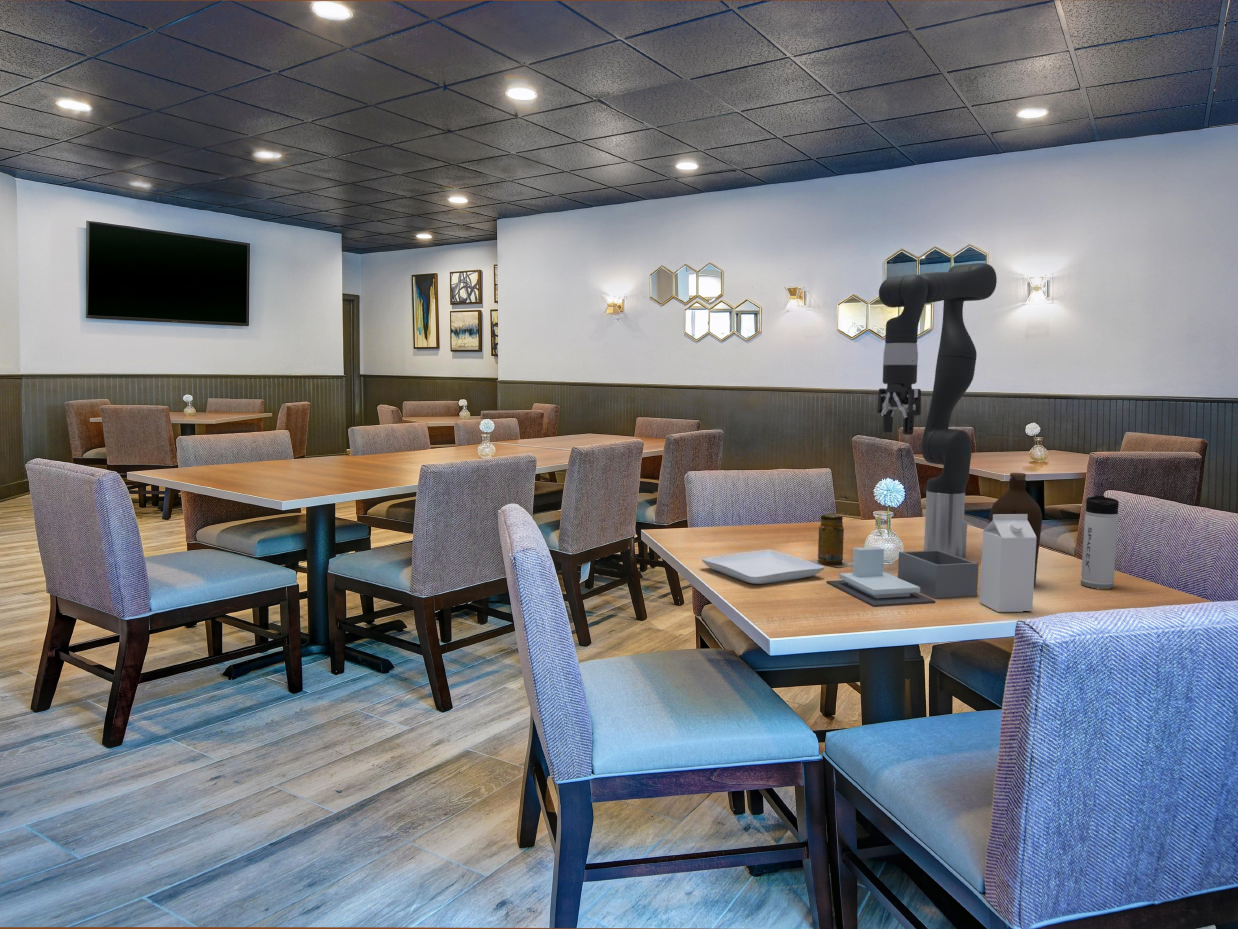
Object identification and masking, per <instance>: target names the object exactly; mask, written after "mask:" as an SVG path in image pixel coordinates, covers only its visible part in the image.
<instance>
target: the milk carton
mask: <svg viewBox="0 0 1238 929" xmlns="http://www.w3.org/2000/svg"><path fill="white" fill-rule="evenodd" d="M1027 517H1028V514H993V520H992V521H991V522H990V521H989V523H988V524H987V526H986V527H985V528H984V529H983V531H982V543H981V544H982V548H981V560H980V561H981V562H980V564H981V567H980V581H979V582H980V585H979V598H978V599H979V604H982V605H984V606H986V607H987V608H989V609H991V610H992V611H995V612H997V613H1023V611H1031V612H1033V605H1034V604H1033V601H1034V589H1035V588H1034V587H1035V586H1034V572H1035V555H1036V535H1035V533H1034V531H1033V529H1032V527H1031V526H1030V524H1029V522H1028V520H1027Z"/></svg>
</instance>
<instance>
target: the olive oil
mask: <svg viewBox="0 0 1238 929" xmlns="http://www.w3.org/2000/svg"><path fill="white" fill-rule="evenodd" d="M1009 477H1010V478H1009V481H1008V490H1007V491H1006V492H1004V493H1003V494H1002V495H1001V496H1000V497H999V498H998V499H997V500H996V501H994V503H993V504H992V506H991V508H990V511H989V519H988V520H989V523H990V522H991V521H992V520H993V514H1028V517H1027V520H1028V522H1029V524H1030V526H1031V527H1032V529H1033V531H1034V533H1035V535H1036V555H1035V572H1034V587H1035V586H1036V583H1037V582H1036V580H1037V568H1038V560H1039V559H1038V558H1039V551H1040V550H1039V549H1040V543H1041V542H1040V541H1041V540H1040V539H1041V534H1042V532H1041V531H1042V525H1043V514H1042V510H1041V507H1040V506H1039V504H1038V502H1036V501H1035V500H1034V498H1032V497H1031V495H1030V494H1029V493H1028V492H1027V491H1026V487H1027V480H1026V477H1027V473H1025V472H1010V473H1009Z"/></svg>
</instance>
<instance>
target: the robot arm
mask: <svg viewBox="0 0 1238 929" xmlns="http://www.w3.org/2000/svg"><path fill="white" fill-rule="evenodd" d="M997 277H998V276H997V273H996V271H995V268H994V267H993V266H992V265H991V264H989V263H985V262H977V263H964V264H957V265H953V266H952V267H950V268H949V270H948V271H941V272H940V271H937V272H935V271H934V272H933V271H932V272H926V273H925V272H924V273H919V274H907V275H898V276H890V277H888V278H886V279H885V280H884V281H882V283H881V284H880V286H879V289H878V297H879V300H880V302H881V303H882V305H884V306H885V307H888V308H891V309H892V308H894V309H895V308H903V309H902V312H901V313H900V314H899V315H898V316H895V317H892V318H890V319H888V320H887V321H886V324H885V340H884V342H885V343H884V349H883V362H882V383H883V384H884V385H886V388H879V389H878V396H877V408H876V409H877V410H876V412H877V413H878V414H880V415H881V417H882V432H883V433H892V432H893V426H894V424H893V423H894V417H893V415H894V413H895V411H896V410H899V411H900V412H901V413H902V416H903V419H902V422H903V423H902V434H903V435H907V436H908V435H913V433H914V428H915V427H914V425H915V424H914V422H915V418H916V417H918V416H920V415H921V413H922V412H921V410H922V390H921V388H913V387H912V385H915V384H917V383H918V382H917V380H918V364H919V363H918V359H919V358H918V357H919V352H918V333H919V332H918V331H919V329H918V328H919V323H920V320H921V317H922V313H923V311H924V308H925V304H931V303H937V302H941V301H943V308H942V310H943V312H942V323H941V331H940V332H941V334H940V339H939V340H940V341H939V345H938V346H939V347H938V352H937V359H936V363H935V372H934V373H935V374H934V382H933V390H932V394H931V401H930V406H929V410H928V413H927V418H926V423H925V425H924V429H923V434H922V438H921V454H922V457H923V460H924V461H925V462H927V463H929V464H932V465H933V464H935V465H941V466H943V467H942V468H943V469H942V472H941V474H940V475H938V476H936V477H932V478H929V479H928V480H927V483H926V492H925V494H926V497H925V499H926V500H925V519H924V520H925V521H924V536H923V537H924V539H923V540H924V541H923V543H924V544H923V551H930V550H940V551H943V552H946V553H949V554H952V555H955V556H958V557H961V558H964V559H966V554H967V536H968V535H967V532H968V522H966V521H965V506H966V505H965V504H966V488H967V487H966V486H967V485H968V482H969V479H970V471H971V470H970V468H971V459H972V450H973V449H972V448H973V446H972V440H971V437H970V434H969V433H968V432H967V431H965V430H962V429H955V428H953V429H952V428H949V426H950V421H951V418H952V414H953V412H954V409H955V407H956V405H957V404H958V403H959V401H960V400H961V398H962V397H963V396H964V395H965V393H966V392H967V390H968V388H969V387H970V386H971V384H972V382H973V381H974V376H975V369H976V363H977V357H978V356H977V350H976V346H975V344H974V342H973V340H972V337H971V335H970V334H969V332H968V329H967V328H966V326H965V322H964V312H963V311H964V310H963V309H964V303H965V302H973V301H974V302H975V301H983V300H986V299H988V298H990V297H991V296H992V295H993V294H994V292H995V291H996V288H997V282H998V281H997V279H998V278H997Z"/></svg>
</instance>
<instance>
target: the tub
mask: <svg viewBox="0 0 1238 929" xmlns="http://www.w3.org/2000/svg"><path fill="white" fill-rule="evenodd" d="M979 564H980V563H977V562H975V561H972V560H969V559H966V558H965V559H964V558H961V557H958V556H955V555H952V554H949V553H946V552H943V551H940V550H930V551H924V550H915V551H912V550H910V551H898V567H897V578H899V579H902V580H904V581H906V582H909V583H911V584H914V585H916V586H918V587H920V592H919V593H920V594H922V595H923V594H924V595H925V596H928V597H931V598H933V599H935V600H936V599H949V598H950V599H951V598H964V597H965V598H969V597H977V596H978V585H979V584H978V583H979V582H978V581H979V567H980V565H979Z"/></svg>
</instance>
